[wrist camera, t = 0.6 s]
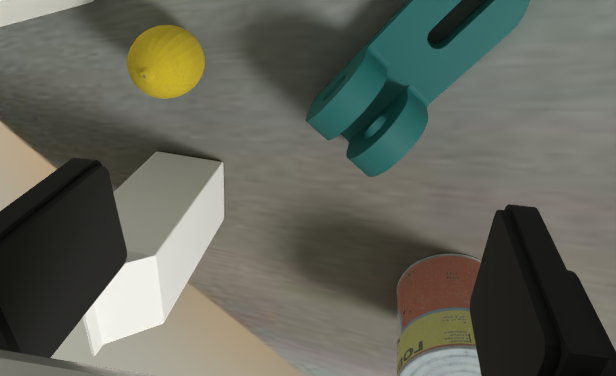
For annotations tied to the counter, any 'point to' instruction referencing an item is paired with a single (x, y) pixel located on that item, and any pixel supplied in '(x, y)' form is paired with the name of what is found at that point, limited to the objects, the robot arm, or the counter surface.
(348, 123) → the bracket
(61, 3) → the ticket dispenser
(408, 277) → the canned food
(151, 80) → the lemon
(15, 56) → the counter surface
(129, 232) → the milk carton
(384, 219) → the counter surface
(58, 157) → the counter surface
